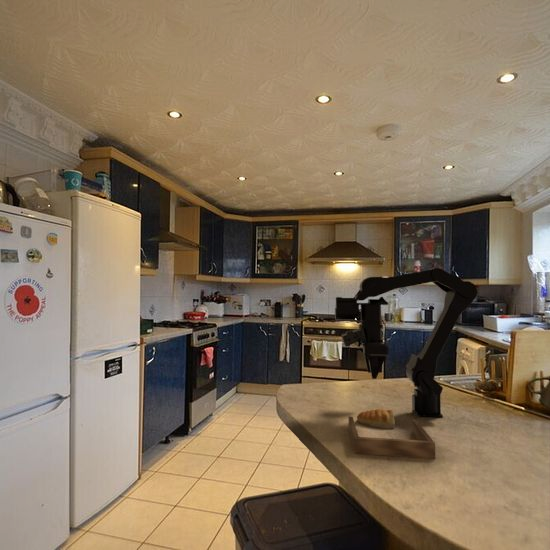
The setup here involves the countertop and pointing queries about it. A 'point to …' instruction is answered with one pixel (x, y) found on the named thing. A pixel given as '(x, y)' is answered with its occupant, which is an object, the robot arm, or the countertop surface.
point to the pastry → (377, 418)
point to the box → (394, 443)
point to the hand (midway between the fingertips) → (371, 375)
